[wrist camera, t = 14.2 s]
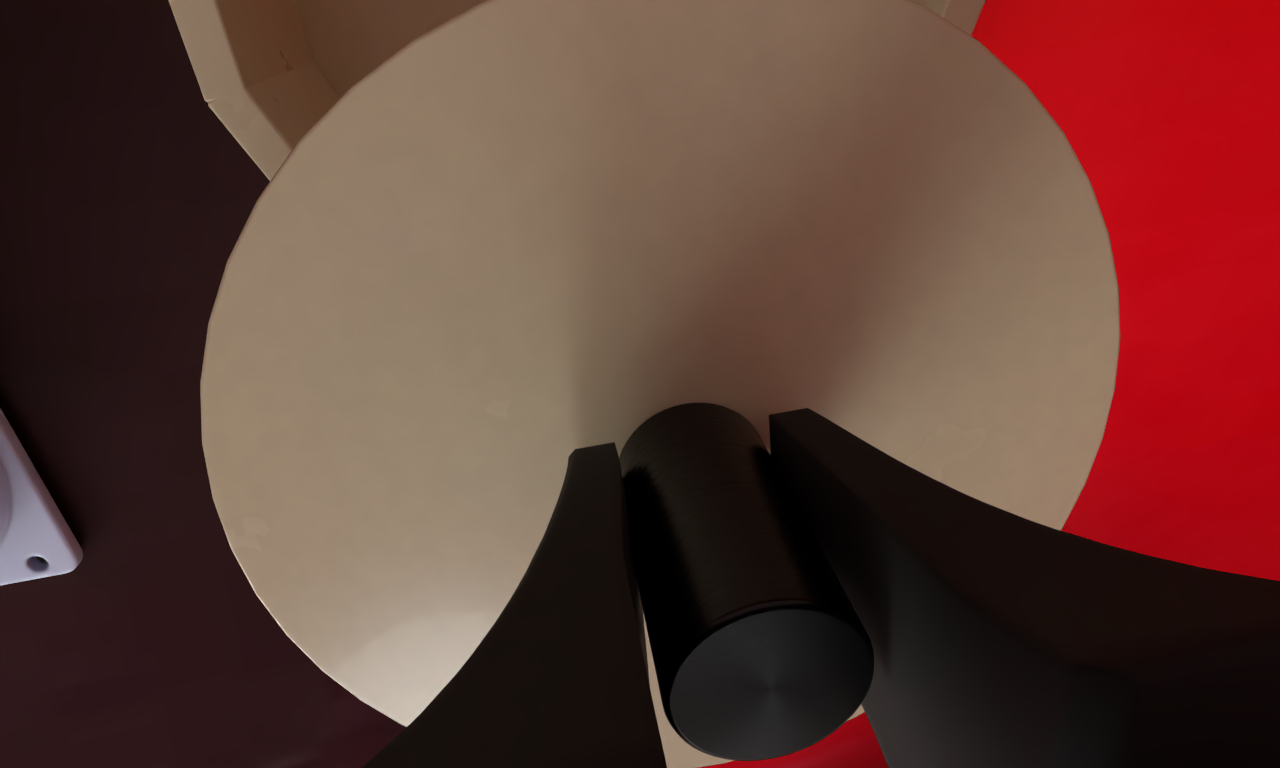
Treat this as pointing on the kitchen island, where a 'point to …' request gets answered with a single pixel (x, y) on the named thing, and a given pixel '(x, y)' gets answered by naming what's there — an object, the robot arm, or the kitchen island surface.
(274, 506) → the pot lid
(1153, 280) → the kitchen island surface
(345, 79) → the pot
